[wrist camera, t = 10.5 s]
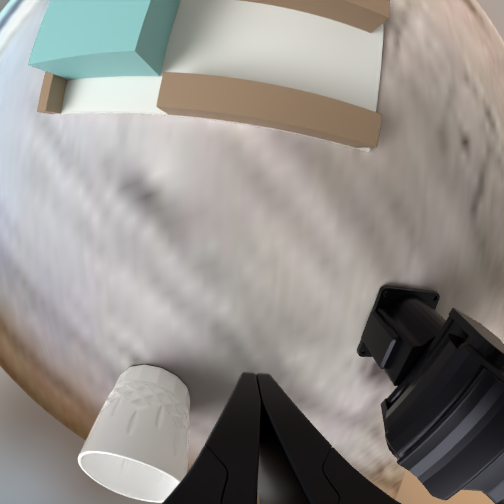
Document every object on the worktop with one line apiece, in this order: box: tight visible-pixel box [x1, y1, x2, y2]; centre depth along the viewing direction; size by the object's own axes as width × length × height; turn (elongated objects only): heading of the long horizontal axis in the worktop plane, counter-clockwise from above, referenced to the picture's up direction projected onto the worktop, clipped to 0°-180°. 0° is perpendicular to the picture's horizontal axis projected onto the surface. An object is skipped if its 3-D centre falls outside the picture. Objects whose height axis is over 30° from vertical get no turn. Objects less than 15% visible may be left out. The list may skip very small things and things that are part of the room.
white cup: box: [78, 365, 190, 502], centre depth 18 cm, size 8×8×10 cm
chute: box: [37, 0, 390, 152], centre depth 13 cm, size 22×11×4 cm, turn 80°
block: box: [28, 0, 180, 80], centre depth 11 cm, size 7×6×5 cm
